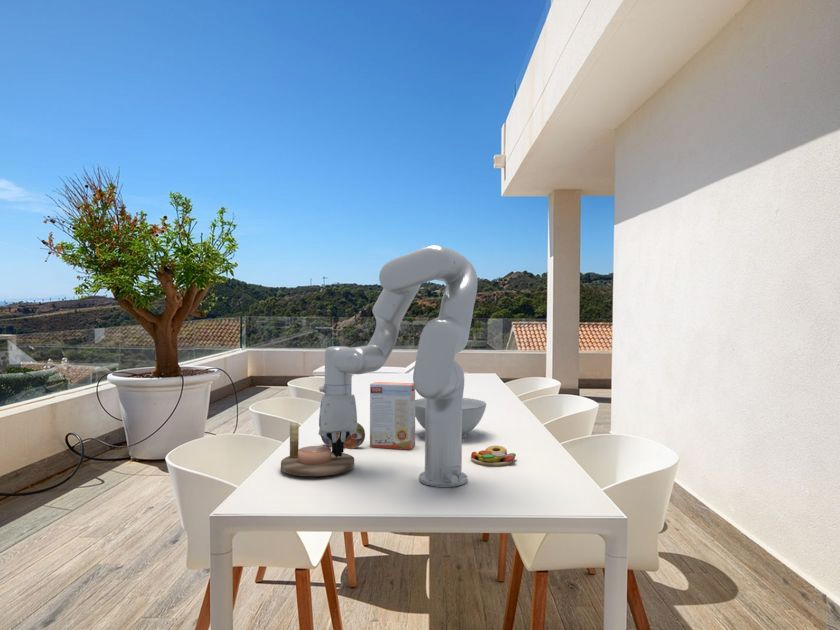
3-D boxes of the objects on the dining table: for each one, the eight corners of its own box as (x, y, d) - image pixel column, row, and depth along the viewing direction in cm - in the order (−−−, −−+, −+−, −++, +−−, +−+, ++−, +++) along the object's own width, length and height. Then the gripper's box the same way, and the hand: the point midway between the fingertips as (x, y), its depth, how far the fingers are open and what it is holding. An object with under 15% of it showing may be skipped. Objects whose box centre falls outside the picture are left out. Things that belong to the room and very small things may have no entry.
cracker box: (415, 446, 176) (416, 382, 176) (410, 450, 170) (411, 384, 170) (375, 443, 180) (375, 381, 180) (369, 447, 174) (369, 383, 174)
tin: (320, 446, 175) (320, 420, 175) (324, 444, 178) (324, 418, 178) (362, 449, 171) (362, 423, 171) (366, 447, 174) (366, 421, 174)
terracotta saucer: (334, 463, 145) (334, 451, 145) (300, 466, 142) (300, 454, 142) (327, 455, 154) (327, 444, 154) (295, 458, 151) (295, 447, 151)
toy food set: (499, 454, 167) (499, 444, 167) (525, 464, 155) (525, 453, 155) (462, 459, 161) (462, 448, 161) (486, 470, 149) (487, 458, 149)
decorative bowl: (430, 426, 209) (430, 395, 209) (495, 432, 198) (496, 400, 198) (397, 439, 185) (397, 404, 185) (470, 448, 173) (470, 411, 174)
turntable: (363, 471, 143) (363, 430, 143) (286, 479, 135) (287, 436, 135) (344, 453, 161) (344, 417, 162) (276, 460, 154) (276, 421, 154)
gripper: (314, 393, 144) (313, 461, 144) (367, 390, 150) (367, 456, 150) (308, 389, 151) (308, 454, 151) (360, 387, 157) (359, 450, 157)
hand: (337, 455), depth 150 cm, fingers closed
